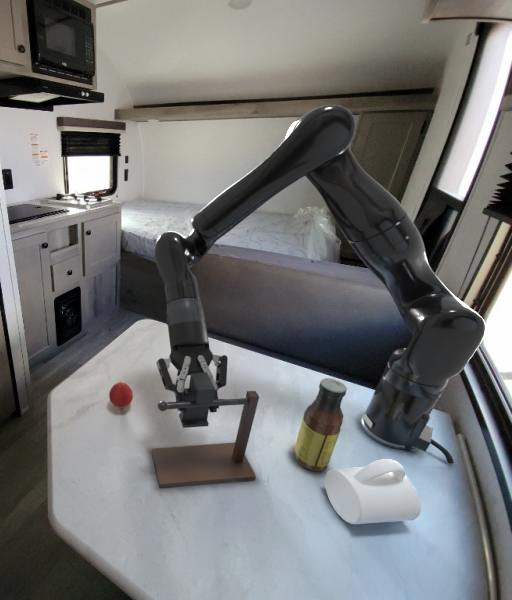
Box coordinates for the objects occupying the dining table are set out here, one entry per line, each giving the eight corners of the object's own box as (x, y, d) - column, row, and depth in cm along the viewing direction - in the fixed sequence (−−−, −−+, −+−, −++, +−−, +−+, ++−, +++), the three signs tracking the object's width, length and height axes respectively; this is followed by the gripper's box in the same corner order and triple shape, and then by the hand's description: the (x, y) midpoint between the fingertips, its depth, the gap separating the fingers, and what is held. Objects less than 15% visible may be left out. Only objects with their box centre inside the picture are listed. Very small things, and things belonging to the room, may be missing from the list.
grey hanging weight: (178, 416, 64) (183, 370, 59) (203, 414, 64) (210, 368, 59) (186, 438, 59) (192, 390, 54) (212, 436, 60) (221, 388, 54)
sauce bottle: (322, 451, 68) (352, 377, 60) (330, 477, 63) (364, 400, 54) (288, 443, 70) (312, 370, 62) (293, 467, 65) (320, 392, 56)
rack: (255, 480, 63) (275, 409, 54) (157, 488, 61) (163, 416, 53) (237, 445, 70) (253, 378, 62) (149, 452, 69) (153, 384, 60)
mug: (319, 487, 61) (338, 443, 56) (371, 484, 62) (394, 440, 56) (351, 535, 54) (376, 489, 48) (409, 530, 54) (440, 485, 49)
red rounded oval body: (105, 411, 79) (105, 386, 76) (114, 396, 84) (114, 371, 80) (128, 418, 77) (128, 392, 74) (135, 401, 82) (136, 377, 78)
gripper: (154, 321, 61) (164, 415, 55) (228, 317, 62) (245, 410, 56) (148, 330, 68) (157, 415, 62) (214, 327, 69) (228, 410, 63)
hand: (198, 412), depth 59 cm, fingers closed on grey hanging weight, 5 cm apart
